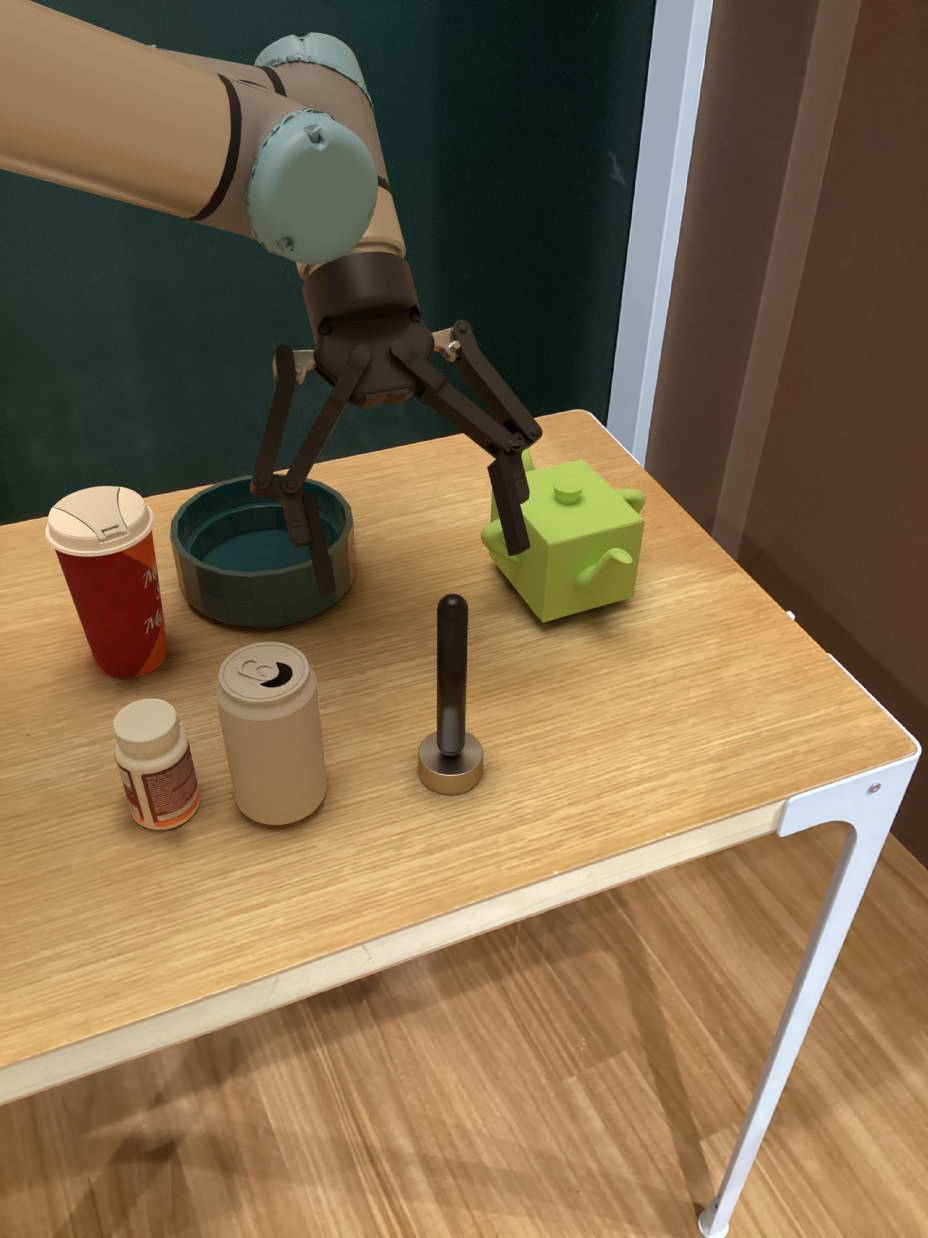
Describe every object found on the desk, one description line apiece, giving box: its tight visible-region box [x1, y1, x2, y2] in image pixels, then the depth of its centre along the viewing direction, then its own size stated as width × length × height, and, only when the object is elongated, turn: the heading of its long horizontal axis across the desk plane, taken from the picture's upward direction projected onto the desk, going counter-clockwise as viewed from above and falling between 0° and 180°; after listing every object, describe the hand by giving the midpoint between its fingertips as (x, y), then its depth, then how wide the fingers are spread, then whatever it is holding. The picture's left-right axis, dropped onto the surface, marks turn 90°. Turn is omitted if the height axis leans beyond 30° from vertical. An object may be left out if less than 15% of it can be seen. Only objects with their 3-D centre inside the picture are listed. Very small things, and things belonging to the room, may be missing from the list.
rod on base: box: [417, 592, 484, 796], centre depth 72 cm, size 5×5×16 cm
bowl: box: [169, 472, 357, 629], centre depth 92 cm, size 15×15×6 cm
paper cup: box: [44, 485, 168, 680], centre depth 81 cm, size 8×8×14 cm
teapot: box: [480, 448, 646, 623], centre depth 91 cm, size 15×13×11 cm
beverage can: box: [214, 641, 328, 826], centre depth 71 cm, size 6×6×12 cm
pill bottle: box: [112, 698, 201, 831], centre depth 71 cm, size 5×5×8 cm
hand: (426, 572), depth 72 cm, fingers open, 13 cm apart
